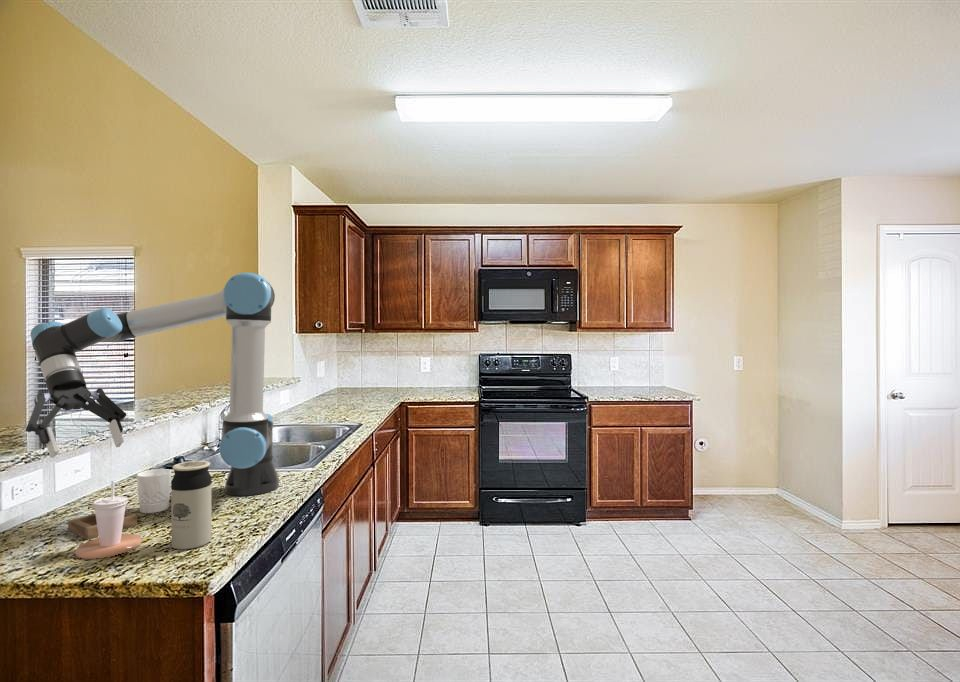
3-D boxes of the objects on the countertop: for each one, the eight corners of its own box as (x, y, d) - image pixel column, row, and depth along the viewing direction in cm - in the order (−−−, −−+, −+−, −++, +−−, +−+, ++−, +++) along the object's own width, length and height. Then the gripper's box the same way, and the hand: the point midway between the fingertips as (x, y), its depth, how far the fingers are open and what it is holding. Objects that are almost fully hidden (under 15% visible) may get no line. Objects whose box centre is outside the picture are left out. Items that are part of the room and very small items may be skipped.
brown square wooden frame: (116, 517, 134) (116, 508, 134) (137, 525, 129) (136, 515, 129) (68, 530, 125) (68, 520, 125) (88, 539, 120) (88, 528, 120)
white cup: (177, 507, 142) (177, 471, 142) (146, 516, 135) (146, 478, 135) (161, 502, 146) (161, 467, 146) (131, 511, 139) (130, 474, 139)
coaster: (151, 535, 122) (151, 532, 122) (125, 557, 110) (125, 553, 110) (95, 538, 120) (95, 535, 120) (62, 561, 108) (62, 557, 108)
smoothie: (109, 550, 112) (109, 485, 112) (84, 548, 113) (85, 483, 113) (134, 539, 118) (135, 477, 118) (111, 537, 119) (111, 476, 119)
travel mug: (194, 534, 123) (194, 459, 123) (219, 539, 120) (219, 462, 120) (163, 547, 116) (162, 466, 116) (189, 552, 113) (188, 470, 113)
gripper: (112, 382, 143) (137, 448, 137) (-6, 389, 121) (17, 467, 115) (124, 366, 140) (150, 433, 134) (5, 370, 118) (29, 450, 112)
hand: (89, 449), depth 124 cm, fingers open, 13 cm apart
